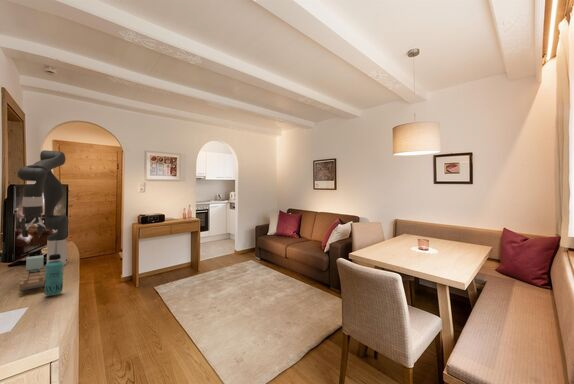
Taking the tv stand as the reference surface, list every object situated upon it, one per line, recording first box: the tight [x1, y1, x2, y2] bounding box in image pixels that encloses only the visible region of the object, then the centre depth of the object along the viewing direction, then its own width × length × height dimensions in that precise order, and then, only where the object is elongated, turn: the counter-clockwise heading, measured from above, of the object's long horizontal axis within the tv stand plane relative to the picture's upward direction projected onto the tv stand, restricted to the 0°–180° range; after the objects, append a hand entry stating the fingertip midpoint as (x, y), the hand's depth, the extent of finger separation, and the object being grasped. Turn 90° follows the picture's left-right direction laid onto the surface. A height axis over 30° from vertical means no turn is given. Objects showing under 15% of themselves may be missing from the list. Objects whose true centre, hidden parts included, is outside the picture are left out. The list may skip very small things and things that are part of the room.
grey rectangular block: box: [25, 254, 45, 272], centre depth 131 cm, size 5×6×8 cm
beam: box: [19, 267, 46, 292], centre depth 126 cm, size 24×10×8 cm, turn 45°
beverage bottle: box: [43, 254, 64, 296], centre depth 117 cm, size 6×7×20 cm
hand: (32, 235), depth 129 cm, fingers open, 8 cm apart
